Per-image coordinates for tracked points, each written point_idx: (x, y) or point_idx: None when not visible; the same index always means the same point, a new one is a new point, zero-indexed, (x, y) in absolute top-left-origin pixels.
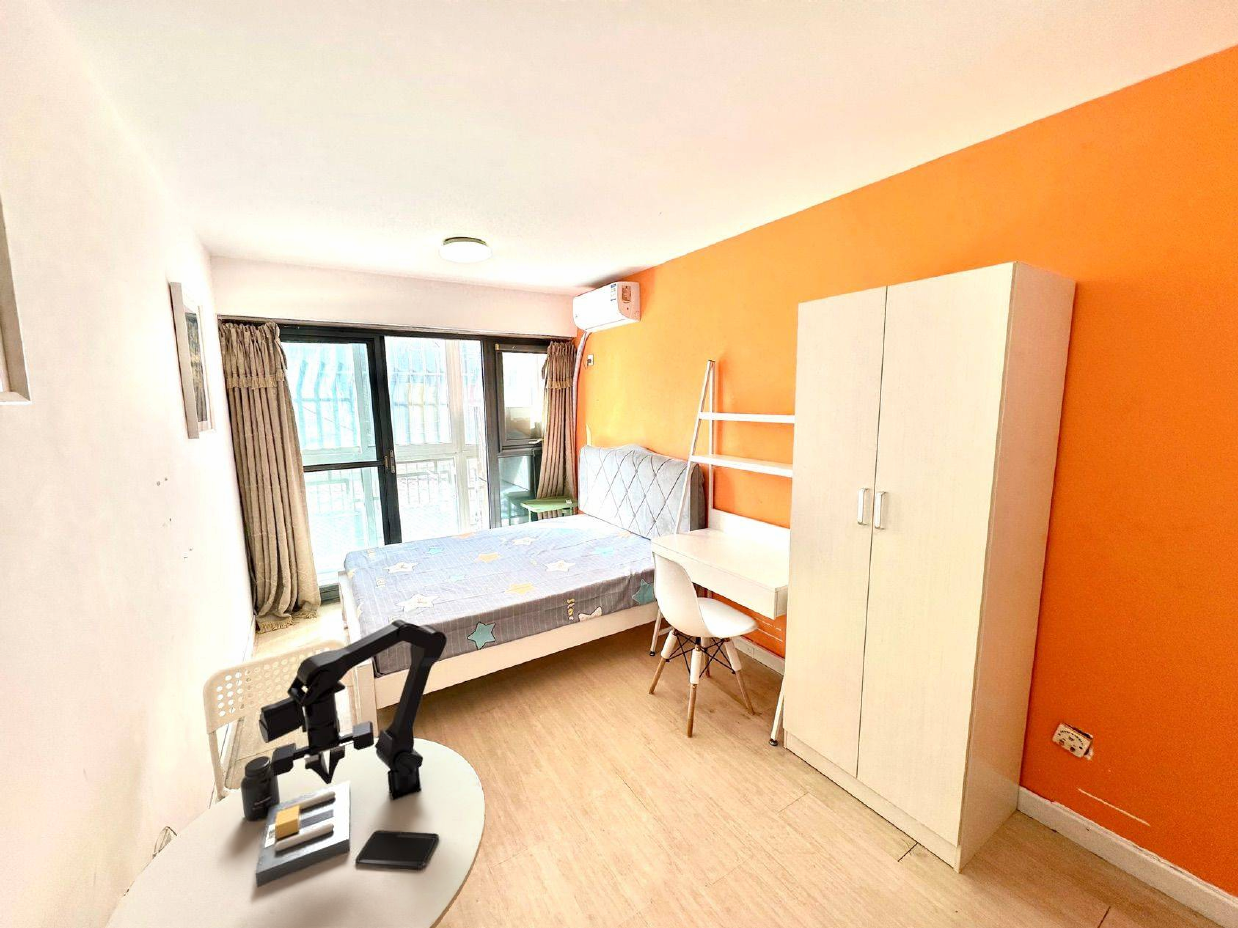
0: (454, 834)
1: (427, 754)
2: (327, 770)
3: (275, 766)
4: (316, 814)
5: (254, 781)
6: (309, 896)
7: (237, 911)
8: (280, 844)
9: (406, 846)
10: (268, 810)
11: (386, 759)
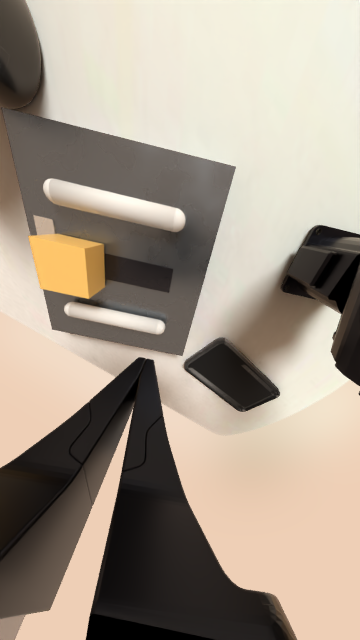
0: (293, 397)
1: None
2: (131, 387)
3: None
4: (137, 257)
5: None
6: None
7: (55, 336)
8: (73, 316)
9: (242, 383)
10: (11, 96)
11: (357, 365)
